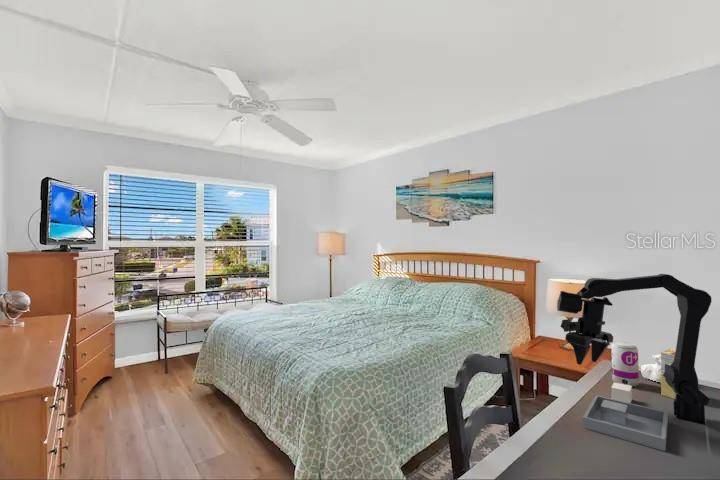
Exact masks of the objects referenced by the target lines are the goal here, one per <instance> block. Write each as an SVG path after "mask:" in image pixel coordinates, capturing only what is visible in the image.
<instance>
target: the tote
mask: <svg viewBox="0 0 720 480" xmlns="http://www.w3.org/2000/svg"><path fill="white" fill-rule="evenodd" d="M603 400H608V401H612V402H616V403H620V404H625V405H628V420H627V423H626V426H623V425H620V424H616V423H612V422H608V421H605V420H601V404H602V402H603ZM668 418H669V417H668V411H666V410H662V409H657V408H652V407H648V406H644V405H640V404H639V405H638V404H636V403H632V402H631V403H627V402H623V401H618V400H614V399H612V398H610V397H609V398H608V397H605V396H601V395H594V397H593V399H592V400H591V402H590V404H589V406H588V408H587V409H586V411H585V413H583V416H582V428H583V429H586V430H590V431H593V432H597V433H600V434H603V435H607V436H610V437H614V438H618V439H621V440H624V441H627V442H628V441H629V442H631V443H635V444H638V445H641V446H644V447H648V448H652V449H656V450H658V451H662V452H666V450H667V439H668V438H667V436H668V426H669V425H668V423H669V419H668Z"/></svg>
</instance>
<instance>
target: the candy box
mask: <svg viewBox="0 0 720 480" xmlns="http://www.w3.org/2000/svg"><path fill="white" fill-rule="evenodd" d="M675 353H676V348H674V347H673V348H669V349H666V350H662V351H661V352H660V354H661V383H660V384H661V385H660V387H661V390H660V391H661V393H660V394H661V396H662V395H663V396H662V397H667V398H669V399H673V400H674V399H676V394H677V393H675V392H674V390H673V388H671V387H670V386H669V385H668V384H667V382H666V381H665V377H664V376H663V374H664V372H665V364H668V365H671V364H672V363H673V362H674V359H675Z"/></svg>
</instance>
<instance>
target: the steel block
mask: <svg viewBox="0 0 720 480" xmlns="http://www.w3.org/2000/svg"><path fill="white" fill-rule="evenodd" d="M601 420H605V421H608V422H612V423H616V424H620V425H623V426H626V423H627V420H628V405H625V404H620V403H616V402H612V401H608V400H603V402H602V404H601Z"/></svg>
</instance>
